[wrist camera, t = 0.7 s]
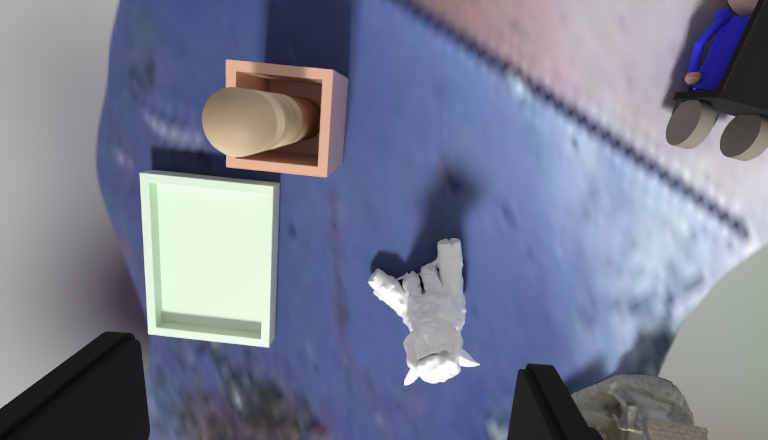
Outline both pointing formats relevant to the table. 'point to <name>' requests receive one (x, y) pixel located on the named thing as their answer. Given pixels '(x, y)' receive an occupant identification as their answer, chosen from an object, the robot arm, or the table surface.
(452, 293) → the sitting furry creature
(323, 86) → the pink open box
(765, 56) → the figurine character
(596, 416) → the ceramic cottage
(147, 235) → the tray
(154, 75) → the table surface
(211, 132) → the dowel
